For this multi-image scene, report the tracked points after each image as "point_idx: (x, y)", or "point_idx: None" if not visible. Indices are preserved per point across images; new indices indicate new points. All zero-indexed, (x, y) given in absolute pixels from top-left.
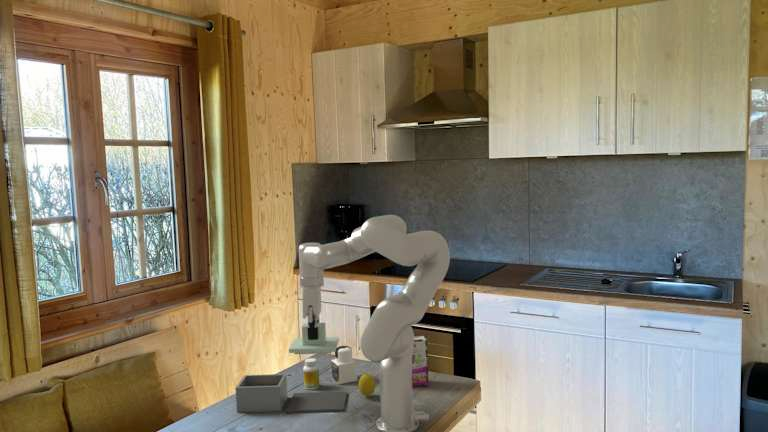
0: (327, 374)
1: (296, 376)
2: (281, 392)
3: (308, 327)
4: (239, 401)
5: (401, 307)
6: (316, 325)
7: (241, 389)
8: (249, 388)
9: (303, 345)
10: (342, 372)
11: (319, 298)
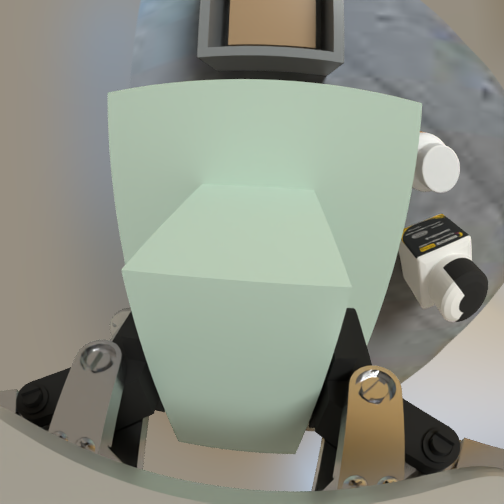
0: (469, 200)
1: (475, 112)
2: (233, 61)
3: (88, 349)
4: None
5: None
6: (143, 419)
7: None
8: None
9: (190, 192)
10: (408, 258)
11: None
